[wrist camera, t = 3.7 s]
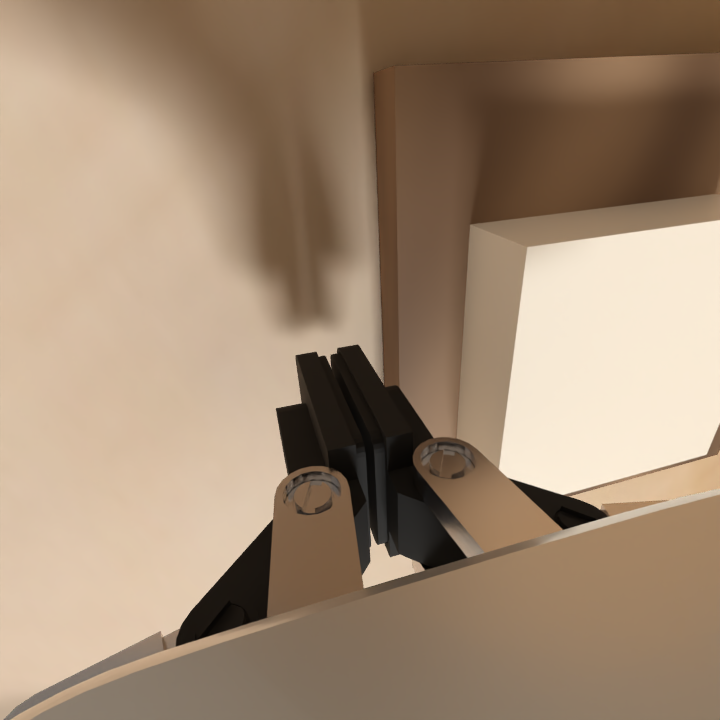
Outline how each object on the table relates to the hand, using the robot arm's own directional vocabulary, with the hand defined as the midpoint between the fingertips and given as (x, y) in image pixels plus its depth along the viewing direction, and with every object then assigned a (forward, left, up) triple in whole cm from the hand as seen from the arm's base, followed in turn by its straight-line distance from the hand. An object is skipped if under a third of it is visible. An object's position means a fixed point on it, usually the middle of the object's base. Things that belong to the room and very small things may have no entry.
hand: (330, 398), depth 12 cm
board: (-10, 0, -2) cm, 10 cm away
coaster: (-8, 0, -1) cm, 8 cm away
